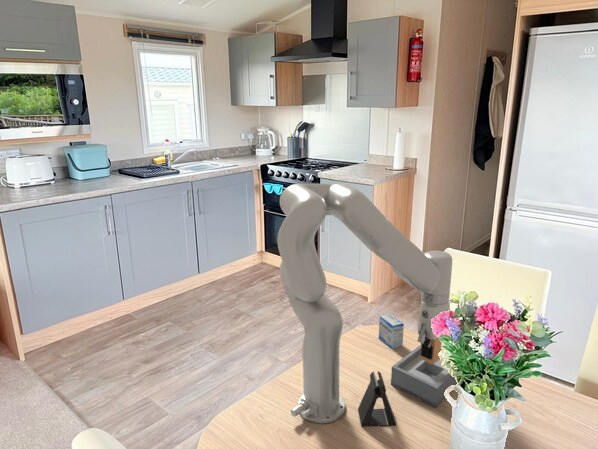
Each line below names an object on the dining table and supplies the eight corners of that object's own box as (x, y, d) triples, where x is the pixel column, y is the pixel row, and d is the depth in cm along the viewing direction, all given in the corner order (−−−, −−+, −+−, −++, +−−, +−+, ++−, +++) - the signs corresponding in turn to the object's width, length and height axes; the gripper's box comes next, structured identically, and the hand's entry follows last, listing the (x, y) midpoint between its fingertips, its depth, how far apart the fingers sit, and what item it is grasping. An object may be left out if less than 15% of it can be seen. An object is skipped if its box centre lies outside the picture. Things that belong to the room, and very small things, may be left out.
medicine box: (378, 338, 149) (378, 315, 147) (388, 335, 151) (389, 312, 149) (392, 349, 143) (393, 326, 140) (403, 346, 144) (404, 323, 142)
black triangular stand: (391, 409, 115) (393, 370, 112) (396, 426, 109) (398, 385, 106) (357, 410, 115) (358, 371, 112) (360, 426, 110) (361, 386, 106)
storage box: (435, 407, 116) (436, 388, 114) (390, 384, 125) (391, 366, 123) (465, 377, 128) (467, 359, 126) (423, 358, 137) (424, 341, 136)
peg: (433, 364, 122) (435, 333, 119) (420, 358, 124) (422, 327, 122) (440, 358, 124) (442, 327, 121) (427, 353, 127) (429, 322, 124)
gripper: (432, 310, 110) (427, 372, 116) (462, 290, 122) (456, 347, 127) (406, 301, 116) (403, 361, 121) (437, 282, 127) (433, 337, 132)
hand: (430, 353), depth 124 cm, fingers closed on peg, 4 cm apart
